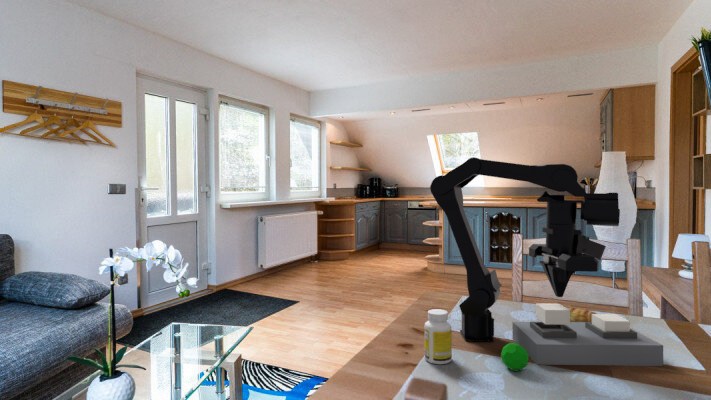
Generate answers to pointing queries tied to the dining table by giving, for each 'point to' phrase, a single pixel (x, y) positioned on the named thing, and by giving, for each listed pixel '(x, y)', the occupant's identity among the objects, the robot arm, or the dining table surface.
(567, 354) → the panel
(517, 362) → the polyhedron
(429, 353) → the supplement bottle
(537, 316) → the button
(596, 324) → the button
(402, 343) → the dining table surface
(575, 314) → the pastry
